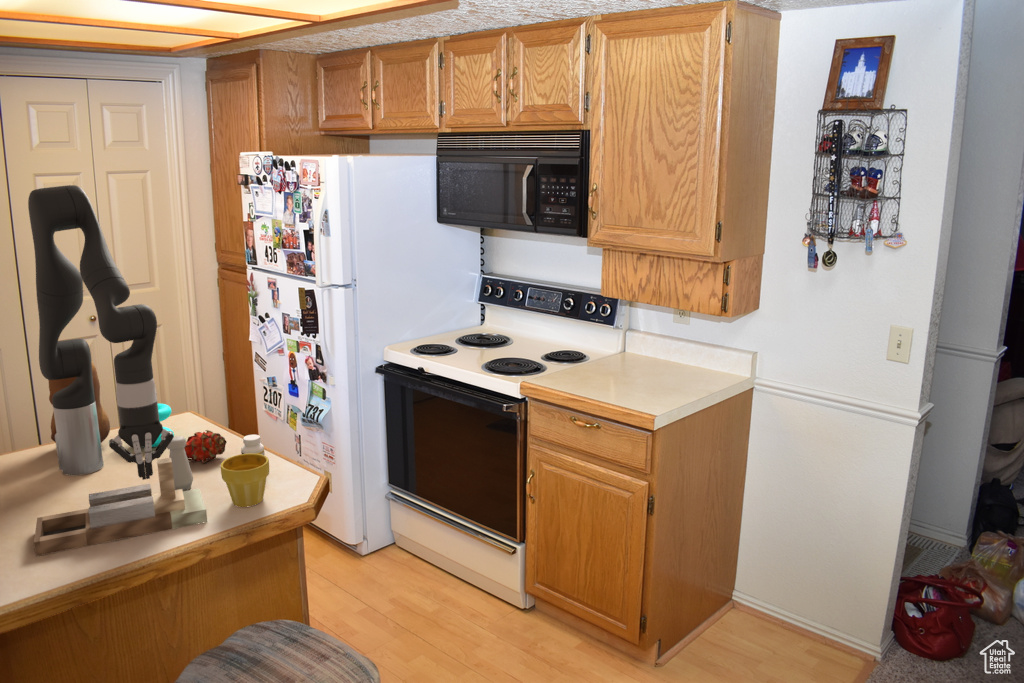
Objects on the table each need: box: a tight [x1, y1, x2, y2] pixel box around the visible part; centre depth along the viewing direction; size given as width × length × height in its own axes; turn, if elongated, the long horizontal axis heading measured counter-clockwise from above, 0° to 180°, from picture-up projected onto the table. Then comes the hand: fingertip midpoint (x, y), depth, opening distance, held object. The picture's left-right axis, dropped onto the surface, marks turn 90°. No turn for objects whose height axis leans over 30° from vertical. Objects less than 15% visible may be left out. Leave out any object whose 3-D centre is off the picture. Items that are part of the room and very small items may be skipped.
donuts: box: [152, 402, 175, 448], centre depth 214 cm, size 10×10×10 cm
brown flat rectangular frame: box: [33, 488, 208, 557], centre depth 167 cm, size 32×12×3 cm, turn 118°
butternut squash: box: [47, 362, 111, 444], centre depth 208 cm, size 14×13×25 cm
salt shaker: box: [166, 435, 194, 491], centre depth 184 cm, size 6×6×13 cm
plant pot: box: [220, 453, 270, 508], centre depth 179 cm, size 10×10×10 cm
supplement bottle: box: [240, 434, 266, 456], centre depth 194 cm, size 5×5×10 cm
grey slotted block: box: [88, 483, 155, 529], centre depth 166 cm, size 12×10×4 cm
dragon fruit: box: [184, 429, 228, 464], centre depth 203 cm, size 8×8×12 cm
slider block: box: [152, 457, 185, 514], centre depth 169 cm, size 6×6×10 cm
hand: (146, 477), depth 167 cm, fingers closed
